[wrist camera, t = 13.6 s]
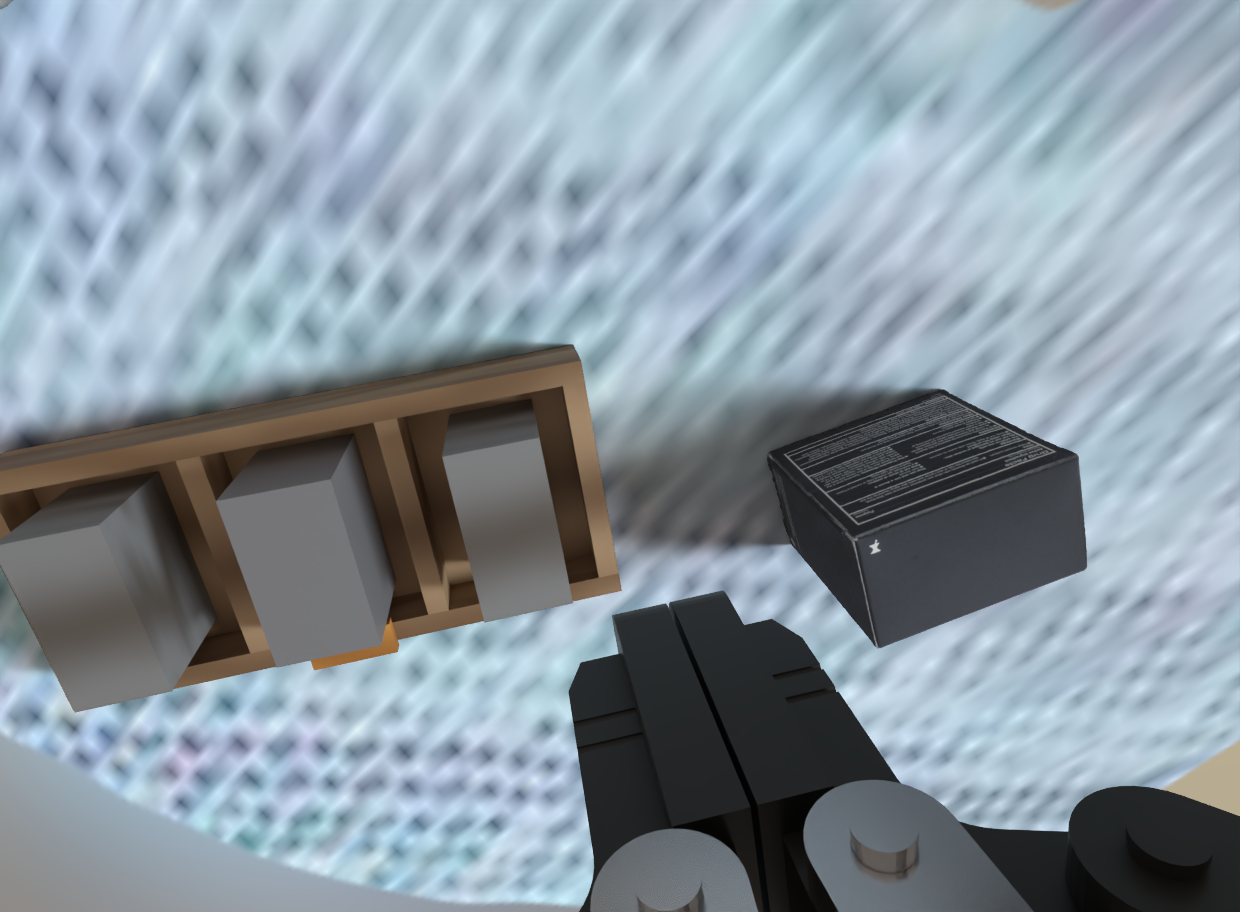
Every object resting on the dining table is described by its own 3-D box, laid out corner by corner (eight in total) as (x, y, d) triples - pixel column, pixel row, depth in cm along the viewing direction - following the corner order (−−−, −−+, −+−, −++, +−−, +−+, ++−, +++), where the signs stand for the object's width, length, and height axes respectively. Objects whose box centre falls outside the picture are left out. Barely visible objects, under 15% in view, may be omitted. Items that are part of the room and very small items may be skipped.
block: (257, 451, 36) (215, 501, 31) (354, 433, 37) (330, 479, 31) (306, 597, 39) (276, 667, 34) (396, 579, 40) (381, 645, 34)
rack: (5, 451, 36) (-103, 513, 29) (573, 344, 38) (590, 379, 32) (109, 671, 40) (36, 768, 34) (612, 563, 43) (634, 633, 36)
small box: (789, 552, 44) (875, 659, 34) (762, 451, 42) (845, 535, 32) (962, 488, 45) (1095, 576, 35) (945, 384, 42) (1082, 448, 32)
